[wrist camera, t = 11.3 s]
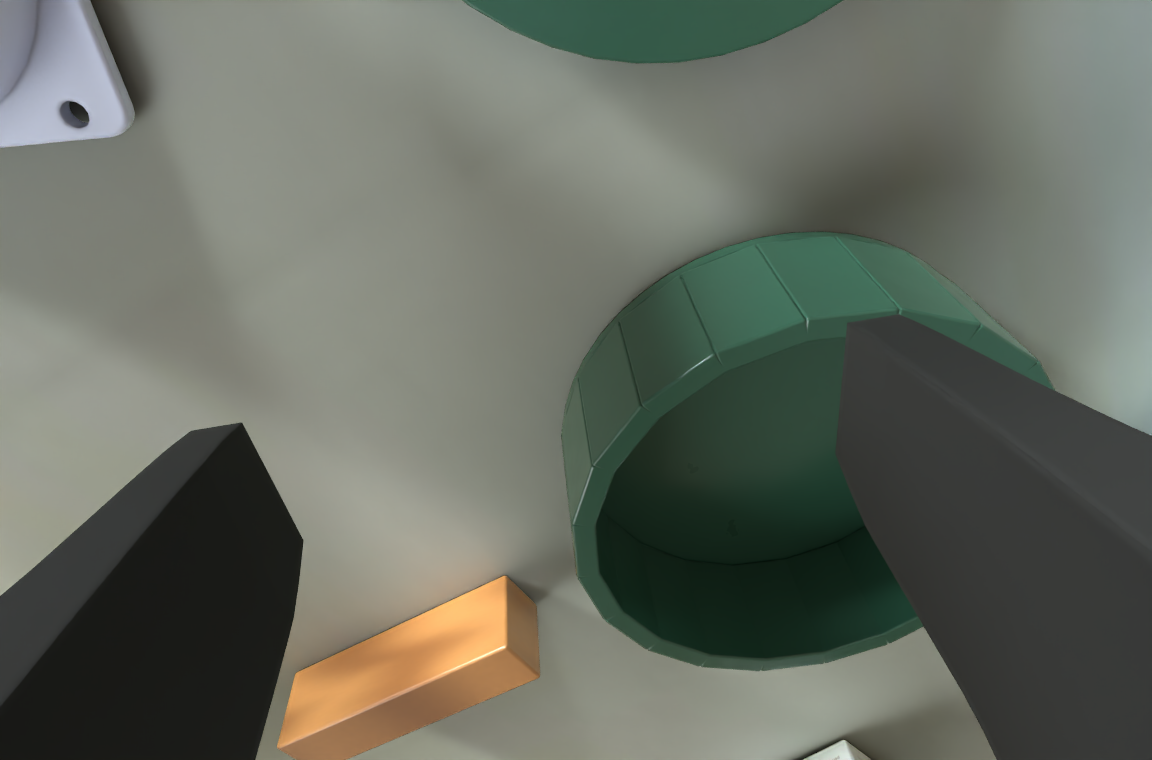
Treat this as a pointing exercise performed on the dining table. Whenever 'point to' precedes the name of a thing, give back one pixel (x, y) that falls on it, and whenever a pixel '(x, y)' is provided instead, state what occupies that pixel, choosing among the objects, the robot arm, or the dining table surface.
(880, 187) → the dining table surface
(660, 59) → the tin lid
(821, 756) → the small box
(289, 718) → the stick
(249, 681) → the robot arm
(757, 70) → the dining table surface
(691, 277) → the tin
